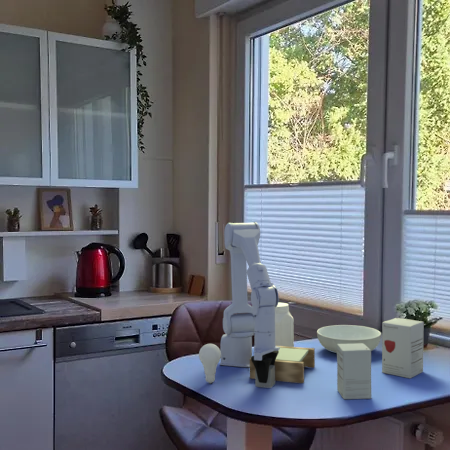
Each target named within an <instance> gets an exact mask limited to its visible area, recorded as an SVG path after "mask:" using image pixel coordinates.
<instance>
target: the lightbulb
mask: <svg viewBox="0 0 450 450" xmlns="http://www.w3.org/2000/svg"><path fill="white" fill-rule="evenodd" d="M198 357H199V360H200V363H201V364H202V367H203V370H204V372H203V373H204V375H205V381H206V382H207V383H208V384H212V383H214V382H215V380H216V373H217V367H218V364H219V362H220V361H221V350H220V348H219V346H217V345H216V344H214V343H207V344H204V345H203V346H202V347H200V349H199V352H198Z"/></svg>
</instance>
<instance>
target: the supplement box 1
mask: <svg viewBox="0 0 450 450" xmlns="http://www.w3.org/2000/svg"><path fill="white" fill-rule="evenodd" d="M336 370H337V371H336V372H337V373H336V377H337V379H336V381H337V382H336V385H337V389H336V390H337V391H338V393H339V395H340V397H341V398H342V399H343V400H361V399H370V400H371V399H372V351H371V350H370V349H369V348H368V347H367V346H366V345H365V344H363V343H357V344H337V353H336Z"/></svg>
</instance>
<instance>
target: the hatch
mask: <svg viewBox="0 0 450 450" xmlns="http://www.w3.org/2000/svg"><path fill="white" fill-rule="evenodd" d="M278 351H279V353H278V355H277V357H276V360H284V361H296V362H301V361H302V360H303V358H304V357H305V356H306V355H307V353H308V350H305V349H292V348H280V350H278Z"/></svg>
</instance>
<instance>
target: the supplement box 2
mask: <svg viewBox="0 0 450 450" xmlns="http://www.w3.org/2000/svg"><path fill="white" fill-rule="evenodd" d="M381 324H382V328H381V330H382V331H381V339H382V340H381V341H382V342H381V343H382V345H381V347H382V349H381V352H382V353H381V355H382V356H381V358H382V359H381V373H383V374H387V375H393V376H395V377H396V376H397V377H402V378H406V379H413V378H414V377H416V376H418V375H420V374H421V373H423V372H424V332H425V331H424V326H425V325H424V324H425V322H424V321H422V320H420V321H419V320H414V319H410V318H409V319H408V318H406V319H405V318H401V317H400V318H399V317H395V318H394V317H393V318H392V319H388V320H385V321H383V322H382V323H381Z"/></svg>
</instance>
